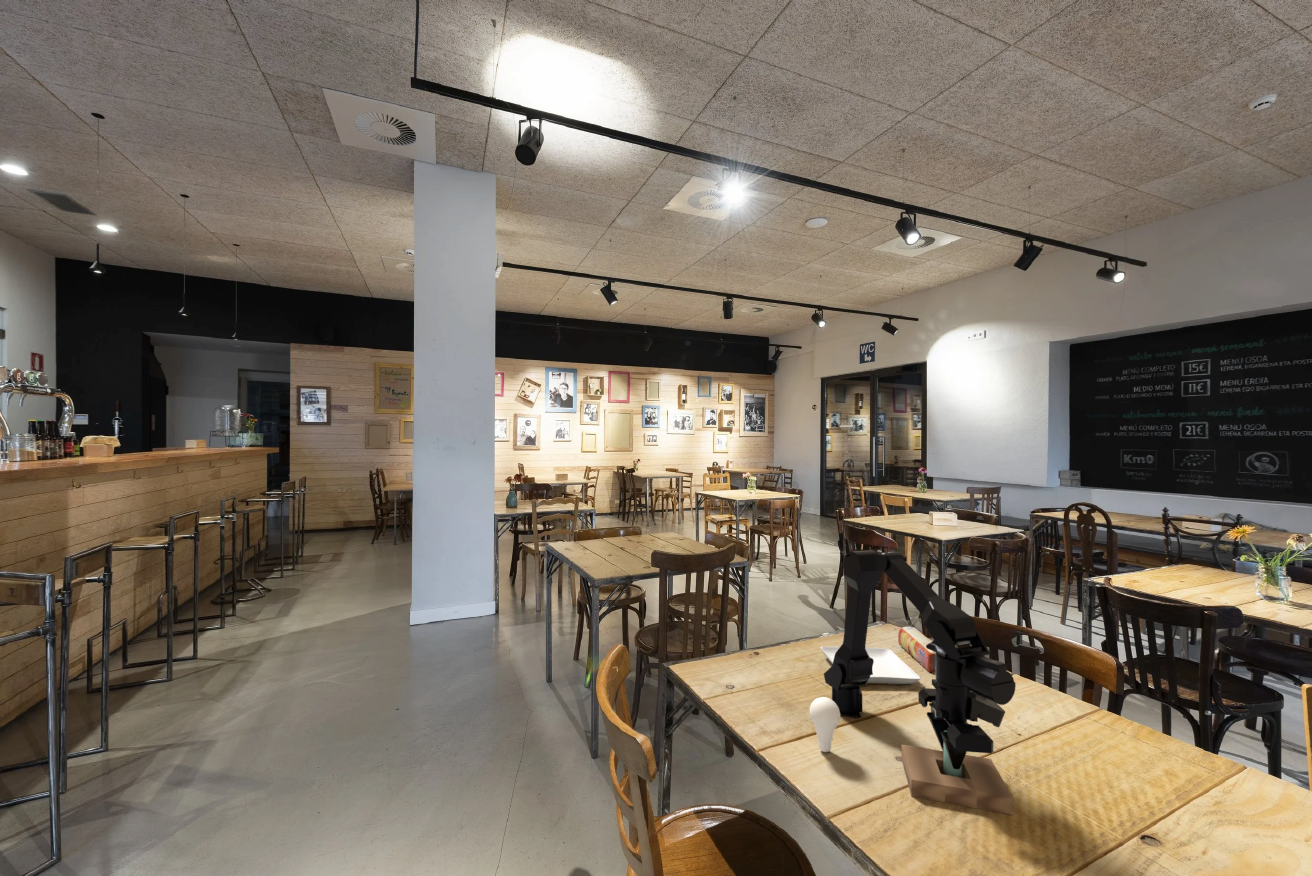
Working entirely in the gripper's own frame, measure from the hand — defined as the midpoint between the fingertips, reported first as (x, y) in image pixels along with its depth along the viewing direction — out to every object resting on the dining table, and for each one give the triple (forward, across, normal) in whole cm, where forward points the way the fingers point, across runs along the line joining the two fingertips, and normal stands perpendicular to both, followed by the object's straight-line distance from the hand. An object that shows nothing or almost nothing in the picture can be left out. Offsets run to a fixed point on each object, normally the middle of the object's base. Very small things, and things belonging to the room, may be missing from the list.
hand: (952, 763), depth 100 cm
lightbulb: (+4, +8, +22) cm, 24 cm away
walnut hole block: (+4, 0, 0) cm, 4 cm away
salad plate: (+5, +51, +2) cm, 51 cm away
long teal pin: (+2, 0, 0) cm, 2 cm away
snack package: (+5, +63, -17) cm, 65 cm away
